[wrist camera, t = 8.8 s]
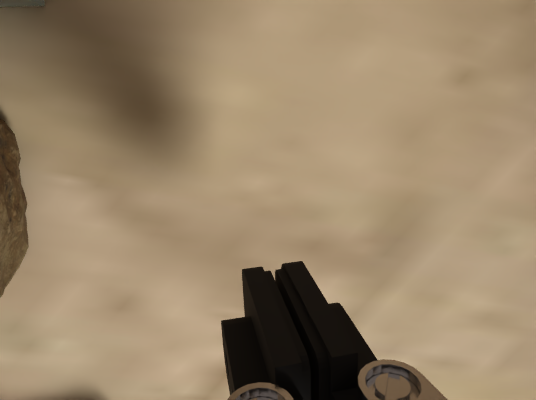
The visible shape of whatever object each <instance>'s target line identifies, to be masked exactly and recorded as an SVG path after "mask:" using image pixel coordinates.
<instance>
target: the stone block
mask: <svg viewBox="0 0 536 400" xmlns="http://www.w3.org/2000/svg"><path fill="white" fill-rule="evenodd" d="M19 163H20V154H19V148H18V145H17V141H16V138H15V134H14V133H13V132H12V130H11V129H10V128H9V127H8V125H7V124H6V123H5V122H4V121H3V120H1V119H0V297H1V296H2V295H3V292H4V289H5V287H6V286H7V285H8V284H9V282H10V281H11V279H12V277H13V276H14V274H15V272H16V271H17V269H18V268H19V266H20V264H21V262H22V260H23V258H24V256H25V254H26V251H27V249H28V234H27V222H26V216H25V212H26V208H27V201H26V197H25V193H24V191H23V188H22V185H21V179H20V170H19Z"/></svg>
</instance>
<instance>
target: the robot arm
mask: <svg viewBox="0 0 536 400" xmlns="http://www.w3.org/2000/svg"><path fill="white" fill-rule="evenodd" d="M242 281H243V296H244V311H245V317H242V318H235V319H229V320H223V321H221V326H222V338H223V348H224V357H225V365H226V373H227V379H228V385H229V391H230V397H229V398H228V400H447V399H446V398H445V397H444V396H443V395H442V394H441V393H440V392H439V391H438V390H437V389H436V388H435V387H434V386H433V385H432V384H431V383H430V382H429V381H428V380H427V379H426V378H425V377H424V376H423V375H422V374H421V373H420V372H419V371H418V370H416V369H415V368H414V367H412V366H410V365H408V364H406V363H404V362H399V361H395V360H384V359H383V360H377V359H376V357H375V356H374V354H373V353H372V351H371V349H370V348H369V346H368V345H367V343H366V342H365V340H364V339H363V337H362V336H361V334H360V333H359V331H358V330H357V328H356V327H355V325H354V324H353V322H352V321H351V319H350V317H349V316H348V314H347V313H346V311H345V310H344V308H343V307H342V306H341V304H340V303H331V304H328V303H327V301H326V299H325V298H324V296H323V294H322V293H321V291H320V289H319V288H318V286H317V285H316V283H315V281H314V280H313V278H312V276H311V275H310V273H309V271H308V270H307V268H306V266H305V265H304V263H303V262H302V261H299V262H292V263H284V264H282V267H281V269H278V270H276V271H275V280H274V278H273V275H272V273H271V271H264V269H263V267H255V268H248V269H242Z"/></svg>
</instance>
